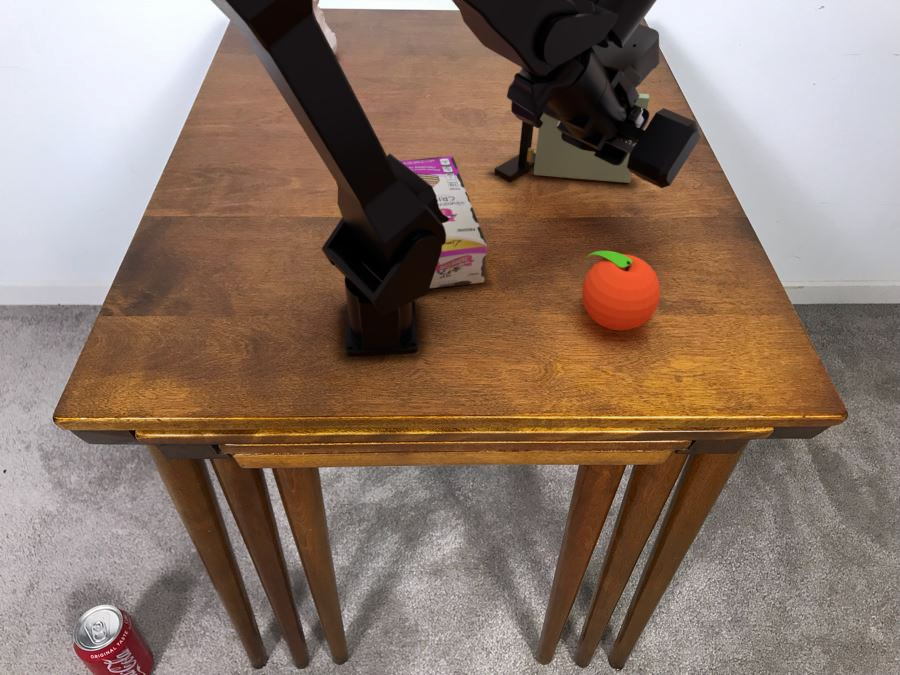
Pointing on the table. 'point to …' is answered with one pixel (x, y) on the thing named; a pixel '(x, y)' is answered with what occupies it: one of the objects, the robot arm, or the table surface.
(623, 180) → the door
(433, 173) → the candy bar box
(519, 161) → the hinge post
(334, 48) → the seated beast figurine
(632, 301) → the clementine
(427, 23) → the table surface
